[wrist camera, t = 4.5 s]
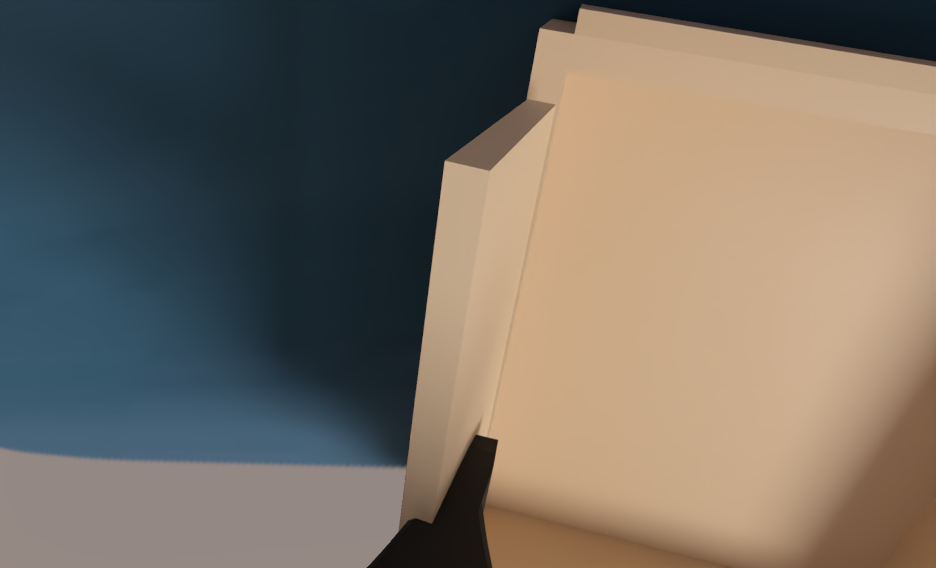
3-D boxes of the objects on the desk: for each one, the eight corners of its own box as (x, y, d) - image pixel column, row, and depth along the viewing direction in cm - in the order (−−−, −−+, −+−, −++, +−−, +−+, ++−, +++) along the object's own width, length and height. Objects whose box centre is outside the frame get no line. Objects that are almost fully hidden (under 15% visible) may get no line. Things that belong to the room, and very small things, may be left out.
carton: (1251, 112, 12) (1531, 164, 8) (867, 608, 20) (927, 742, 16) (555, -1, 13) (544, 2, 10) (458, 505, 21) (433, 607, 18)
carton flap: (489, 170, 6) (445, 161, 6) (389, 782, 13) (368, 772, 13) (556, 104, 10) (527, 99, 10) (453, 597, 16) (436, 591, 16)
